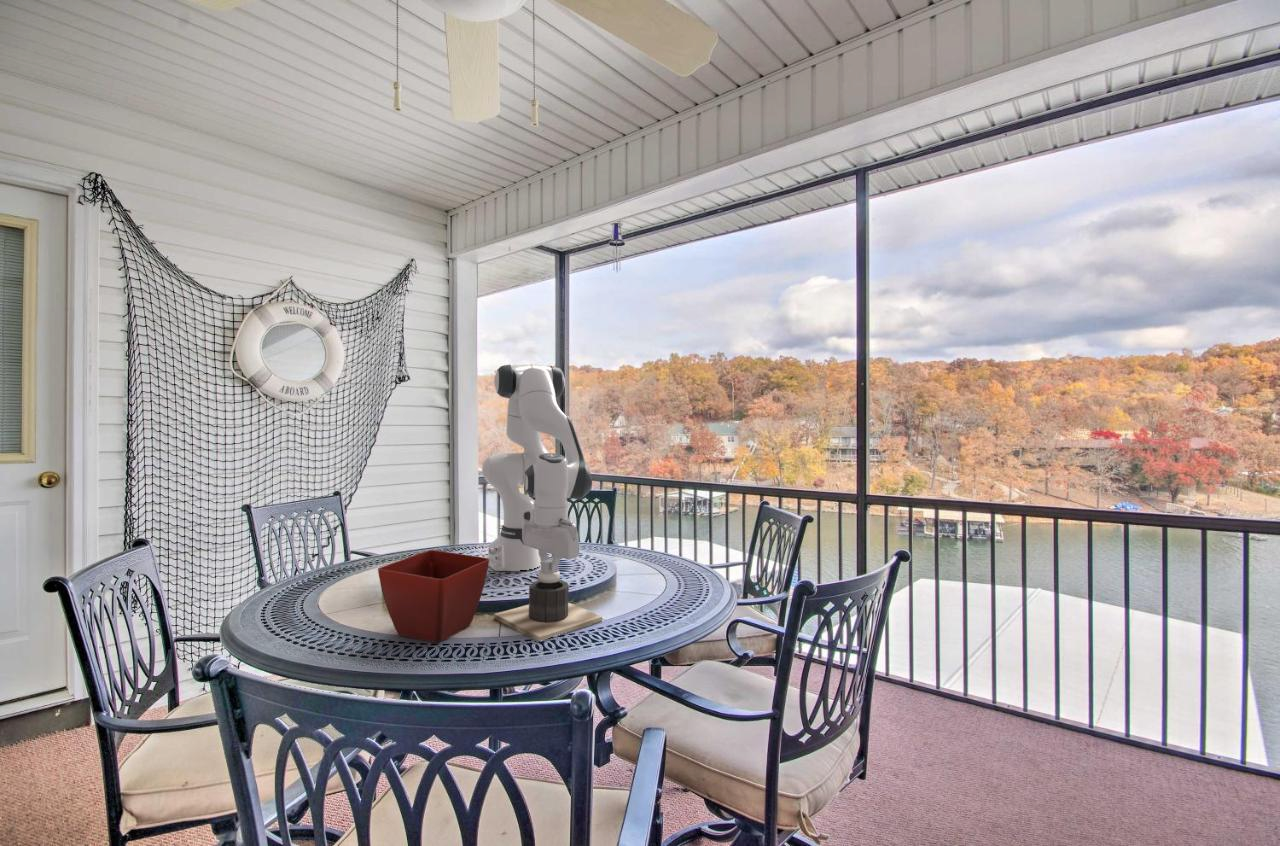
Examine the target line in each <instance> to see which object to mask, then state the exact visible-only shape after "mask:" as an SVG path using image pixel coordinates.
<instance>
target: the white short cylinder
mask: <svg viewBox="0 0 1280 846" xmlns="http://www.w3.org/2000/svg"><path fill="white" fill-rule="evenodd" d="M552 560H553V558H550V559H548V560H545V561H541V563H540V570H539V571H538V572H537V573H538V575H537V579H538V580H537V581H539V582H542V583H555V582H558V581H559V580H561V572H560V570H559V569H558V570H557V571H552V570H550V569H549V563H552Z"/></svg>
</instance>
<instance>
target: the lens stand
mask: <svg viewBox="0 0 1280 846" xmlns="http://www.w3.org/2000/svg"><path fill="white" fill-rule="evenodd" d="M569 589H570V586H569V583H568V582H566V581H564V580H561V579H560V580H559V581H558V582H555V583H542V582H539V581H538V580H536V581H535V580H534V581H533V582H531V583H530V584H529V589H528V604H525V605H521V606H519V607H515V608H511V609H508V610H503V611H500V612H496V613H494V617H493V619H494V620H496V621H498V622H501V623H502V624H503V625H506V626H508V627H510V628H512V629H514V630H516V631H517V632H519V633H521V634H523V635H525V636H528V637H530V638H531V639H533V640H535V639H536V640H535V641H537V640H538V641H537V642H539V641H541V640H544V641H546V640H545V639H547V638H550V637H553V636H555V635H559V634H562V633H565V632H568V633H570V632H569V631H571V632H573V631H572V630H574V631H576V630H575V629H577V630H580V629H583V628H586V627H589V626H591V625H595V624H598V623H601V622H603V616H601V615H599V614H597V613H595V612H592V611H590V610H588V609H585V608H582V607H580V606H578V605H575V604H573V603H571V602H569V595H570V594H569V592H570V591H569ZM579 628H580V629H579ZM565 634H566V633H565ZM562 635H563V634H562ZM559 636H560V635H559ZM553 638H554V637H553ZM550 639H551V638H550ZM547 640H548V639H547ZM541 642H542V641H541Z"/></svg>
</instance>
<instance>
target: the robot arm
mask: <svg viewBox="0 0 1280 846" xmlns="http://www.w3.org/2000/svg"><path fill="white" fill-rule="evenodd" d="M493 383H494V387H495V390H496V393H497V395H498V396H500V397H501V398H505V399H508V405H507V414H506V417H507V419H506V435H507V438H508V439H509V440H510V441H511V442H513V443H514V444H517V445H518V446H520V447H522V448H523V452H520V453H519V452H515V453H513V452H512V453H511V452H507V453H506V452H505V453H504V452H503V453H496V454H492V455H488V456H487V457H486V458H485V460H484V462H483V464H482V466H481V467H482V468H481V469H482V470H481V471H482V472H481V473H482V477H483V479H484V480H485V482H487V483H488V484H489V485H490V486H492V487H493V488H494V489H495V490H496V492H497V493H498V494H499V496H500V499H501V502H502V508H503V509H502V511H503V524H501V525H499V530H500V534H499V536H498V537H497V538H495V539H494V540H493V541H492V542H491V543H490V544H489V545H488V554H487V555H485V556H483V558H488V559H489V564H488V568H490V569H492V570H494V571H495V572H505V571H506V572H521V571H520V570H527V571H530V570H529V569H532V570H535V569H534V568H536V569H538V568H540V567H541V561H545V560H549V557H548V554H550V555H551V559H553V560H552V563H549V569H550V570H552V571H557V570H558V571H559V564H560V562H561V559H565V560H572V559H575V558H578V556H579V555H580V540H579V531H578V529H577V526H576V525H575V523H574V521H571V520H570V521H569V520H568V517H569V516H568V514H569V513H568V512H569V502H568V499H569V500H571V499H572V500H582V499H583V498H584V497H586V496H587V495H589V493H590V491H591V490H592V488H593V477H592V473H591V470H590V467H589V465H588V463H587V461H586V459H585V456H584V454H583V450H582V448H581V447H582V446H581V445H580V441H579V439H578V435H577V432H576V429H575V426H574V424H573V421H572V419H571V418H570V416H569V415H568V414H566V413H564V412H563V411H562V410H561V408H560V407H559V404H558V403H557V399H558V398H559V397H561V396H562V395H563V392H564V389H565V388H566V387H565V385H566V379H565V375H564V372H563V370H562V369H561V368H560V367H557V366H553V365H550V366H548V365H542V364H541V365H540V364H513V365H511V364H505V365H502V366H501V365H500V367H498V368H497V370H496V372H495V375H494V381H493ZM541 433H543V434H546V435H549V436H551V437H553V438H555V439H557V440H558V441H559V442H560V443H561V446H562V447H563V450H564V454H565V456H564V455H562V454H560V453H553V452H549V451H548V449H546V447H545V445H544V443H543V440H542V437H541V436H542V435H541ZM520 486H524V487H523V488H524V492H525V493H526V494H525V493H522V492H521V491H520ZM533 498H535V499H533ZM537 567H538V568H537Z"/></svg>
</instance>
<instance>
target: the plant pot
mask: <svg viewBox="0 0 1280 846" xmlns="http://www.w3.org/2000/svg"><path fill="white" fill-rule="evenodd" d="M483 557H484V556H483ZM483 557H482V556H476V555H469V554H462V553H455V552H448V551H441V550H437V549H429V550H425V551H423V552H421V553H420V552H419V553H417V554H414V555H411V556H409V557H406V558H404V559H401V560H397V561H395V562H394V561H393V562H391V563H389V564H386V565H383V566H380V567H378V568H377V572H378V578H379V583H380V588H381V593H382V596H383V600H384V603H385V606H386V608H387V612H388V615H389V617H390V619H391V621H392V624H393V627H394V629H395V632H396V634H397V635H399V636H403V637H409V638H412V639H418V640H422V641H426V642H432V643H436V644H437V643H441V642H443V641H445V640H446V639H448V638H450V637H452V636H453V635H455V634H457V633H458V632H460V631H462V630H464V629H465V628H467V627H469V626H470V625H472V622H473V619H474V617H475V614H476V612H477V609H478V606H479V604H480V600H481V597H482V594H483V591H484V586H485V582H486V579H487V574H488V570H489V569H488V568H489V566H488V564H489V559H488V558H483Z"/></svg>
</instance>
